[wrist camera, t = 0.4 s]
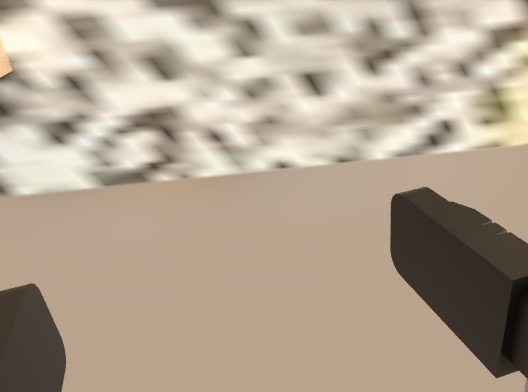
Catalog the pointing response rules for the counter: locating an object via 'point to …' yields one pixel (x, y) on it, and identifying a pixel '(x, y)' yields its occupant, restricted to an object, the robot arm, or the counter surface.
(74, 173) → the counter surface
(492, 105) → the counter surface
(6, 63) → the tile
